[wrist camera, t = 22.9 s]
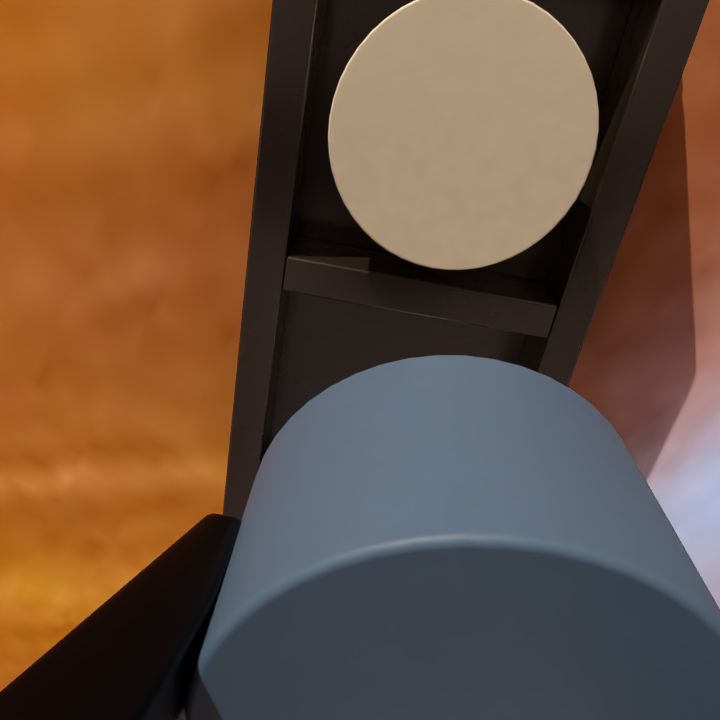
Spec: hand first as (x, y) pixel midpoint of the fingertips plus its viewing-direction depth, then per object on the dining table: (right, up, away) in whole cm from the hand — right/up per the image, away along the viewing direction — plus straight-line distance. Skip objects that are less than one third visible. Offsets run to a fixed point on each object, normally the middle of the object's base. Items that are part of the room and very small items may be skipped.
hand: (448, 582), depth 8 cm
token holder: (0, +5, +10) cm, 11 cm away
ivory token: (+1, +8, +7) cm, 11 cm away
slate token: (0, +1, +1) cm, 1 cm away
